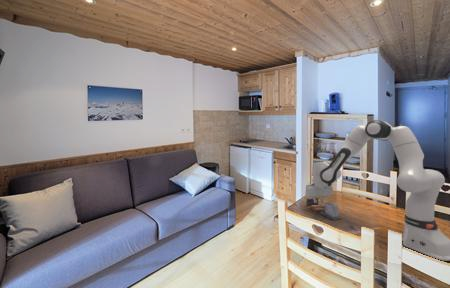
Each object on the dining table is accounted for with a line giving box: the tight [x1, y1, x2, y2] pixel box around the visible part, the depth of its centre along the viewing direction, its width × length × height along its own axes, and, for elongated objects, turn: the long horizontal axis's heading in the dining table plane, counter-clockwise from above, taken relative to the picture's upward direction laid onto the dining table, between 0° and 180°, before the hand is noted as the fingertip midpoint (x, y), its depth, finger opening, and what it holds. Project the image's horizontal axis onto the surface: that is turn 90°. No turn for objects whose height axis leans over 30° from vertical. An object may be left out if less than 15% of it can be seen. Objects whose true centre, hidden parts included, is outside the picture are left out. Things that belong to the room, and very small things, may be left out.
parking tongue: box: [319, 211, 342, 221], centre depth 146 cm, size 12×7×2 cm, turn 13°
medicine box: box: [324, 201, 339, 217], centre depth 146 cm, size 8×4×9 cm, turn 13°
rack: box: [305, 197, 325, 213], centre depth 160 cm, size 12×9×6 cm
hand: (319, 202), depth 157 cm, fingers open, 4 cm apart
